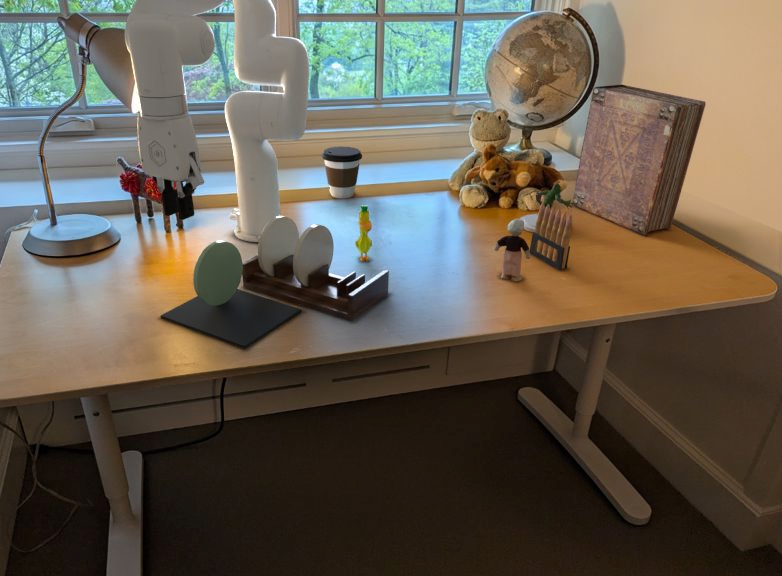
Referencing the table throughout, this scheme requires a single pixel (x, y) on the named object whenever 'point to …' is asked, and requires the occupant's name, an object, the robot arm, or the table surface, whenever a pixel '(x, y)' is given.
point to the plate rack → (318, 288)
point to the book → (636, 156)
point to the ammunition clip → (552, 237)
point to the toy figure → (364, 233)
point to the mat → (233, 317)
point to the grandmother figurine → (513, 250)
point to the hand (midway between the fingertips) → (179, 214)
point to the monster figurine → (550, 197)
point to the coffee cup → (342, 170)
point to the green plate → (218, 273)
